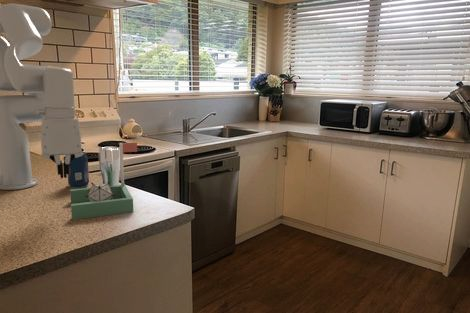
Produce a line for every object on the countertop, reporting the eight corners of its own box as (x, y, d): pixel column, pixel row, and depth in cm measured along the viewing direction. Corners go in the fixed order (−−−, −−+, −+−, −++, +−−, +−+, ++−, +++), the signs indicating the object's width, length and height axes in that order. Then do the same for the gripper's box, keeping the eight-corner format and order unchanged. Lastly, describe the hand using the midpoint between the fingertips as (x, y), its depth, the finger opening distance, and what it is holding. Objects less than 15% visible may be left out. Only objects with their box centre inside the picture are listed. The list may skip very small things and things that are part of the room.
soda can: (68, 184, 133) (66, 151, 131) (88, 182, 136) (87, 150, 134) (68, 189, 127) (65, 155, 125) (89, 187, 130) (87, 154, 127)
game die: (104, 222, 108) (101, 203, 101) (80, 209, 110) (76, 190, 102) (123, 201, 114) (121, 181, 107) (100, 189, 116) (97, 169, 108)
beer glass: (109, 194, 122) (107, 150, 119) (96, 191, 126) (93, 148, 123) (126, 189, 128) (124, 147, 125) (112, 186, 132) (110, 145, 128)
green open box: (72, 219, 100) (67, 155, 96) (70, 201, 114) (66, 145, 111) (148, 210, 109) (146, 150, 105) (138, 194, 123) (136, 142, 119)
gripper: (28, 115, 95) (33, 182, 99) (89, 115, 101) (92, 178, 105) (30, 111, 101) (35, 175, 106) (88, 111, 108) (90, 171, 112)
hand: (63, 176), depth 105 cm, fingers closed
